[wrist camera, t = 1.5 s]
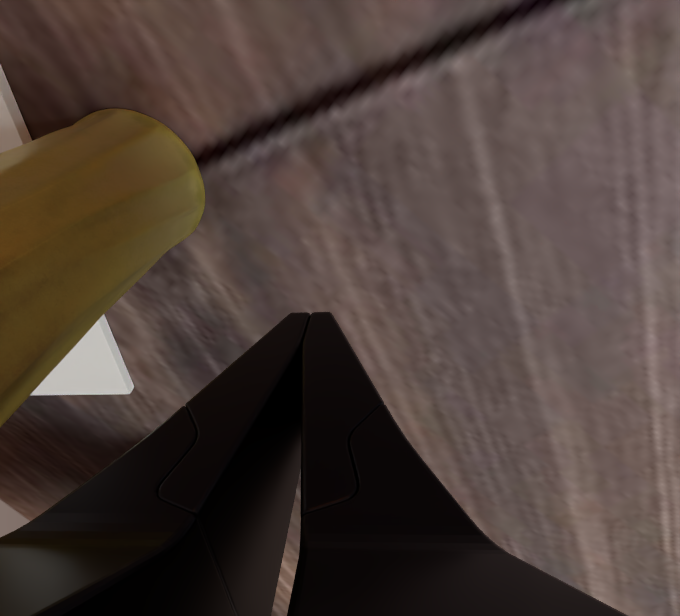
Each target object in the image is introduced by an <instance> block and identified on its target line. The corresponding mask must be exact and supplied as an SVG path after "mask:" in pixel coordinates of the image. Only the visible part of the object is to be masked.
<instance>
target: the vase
mask: <svg viewBox="0 0 680 616" xmlns="http://www.w3.org/2000/svg"><path fill="white" fill-rule="evenodd" d="M204 207H205V190H204V184H203V180H202V177H201V174H200V171H199V168H198V166H197V163H196V161H195V158H194V157H193V155H192V153H191V152H190V150H189V149H188V148H187V146H186V145H185V144H184V143H183V141H182V140H181V139H180V138H179V137H178V136H177V135H176V134H175V133H174V132H173V131H171V130H170V129H169V128H168V127H167V126H165V125H164V124H162V123H161V122H159V121H157V120H155V119H153V118H151V117H149V116H147V115H144V114H142V113H139V112H136V111H132V110H127V109H117V108H114V109H105V110H100V111H96V112H94V113H92V114H89V115H88V116H86V117H84V118H82V119H81V120H79V121H78V122H76V123H75V124H74V125H72V126H70V127H66V128H63V129H60V130H57V131H55V132H52V133H50V134H47V135H45V136H42V137H40V138H38V139H36V140H33V141H31V142H28V143H26V144H24V145H21V146H18V147H16V148H13V149H10V150H7V151H4V152H2V153H0V427H1V426H2V425H3V424H4V423H5V422H6V421H7V420H8V418H9V417H10V416H11V415H12V414H13V413H14V412H15V411H16V410H17V409H18V408H19V407H20V406H21V404H22V403H23V402H24V401H25V400H26V399H27V398H28V397H29V396H30V395H31V393H32V392H33V391H34V390H35V389H36V388H37V387H38V386H39V385H40V383H41V382H42V381H43V380H44V379H45V378H46V377H47V376H48V375H49V374H50V372H51V371H52V370H53V369H54V368H55V367H56V366H57V365H58V364H59V363H60V362H61V361H62V360H63V359H64V357H65V356H66V355H67V354H68V353H69V352H70V351H71V350H72V349H73V348H74V347H75V345H76V344H77V343H78V342H79V341H80V340H81V339H82V338H83V337H84V335H85V334H86V333H87V332H88V331H89V330H90V329H91V328H92V327H93V326H94V324H95V323H96V322H97V321H98V320H99V319H100V317H101V316H102V315H103V314H104V313H105V312H106V311H107V310H108V309H109V308H110V307H111V306H112V305H114V304H115V303H116V302H117V301H118V300H119V299H120V298H121V297H122V296H123V295H124V294H125V293H126V292H127V291H128V290H129V289H130V288H131V287H132V286H133V285H134V284H135V283H136V282H137V281H138V280H139V279H140V278H141V277H142V276H143V275H144V274H145V273H146V272H147V271H148V270H149V269H150V268H151V267H152V266H153V265H154V264H155V263H156V262H157V261H158V260H159V259H160V258H161V257H162V256H163V255H164V254H165V253H166V252H167V251H168V250H169V249H171V248H172V247H174V246H175V245H177V244H178V243H180V242H181V241H183V240H184V239H185V238H187V237H188V236H189V235H190V234H191V233H192V232H193V231H194V230H195V229H196V227H197V225H198V224H199V222H200V219H201V217H202V214H203V211H204Z"/></svg>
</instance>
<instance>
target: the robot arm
mask: <svg viewBox="0 0 680 616" xmlns="http://www.w3.org/2000/svg"><path fill="white" fill-rule="evenodd" d="M300 469H301V535H300V553H299V559H298V564H297V569H296V574H295V579H294V584H293V589H292V594H291V599H290V604H289V609H288V613H287V616H627V615H625V614H624V613H622V612H620V611H618V610H616V609H614V608H612V607H610V606H608V605H606V604H604V603H603V602H601V601H599V600H597V599H595V598H593V597H591V596H589V595H587V594H585V593H583V592H582V591H580V590H578V589H576V588H574V587H572V586H570V585H568V584H566V583H564V582H563V581H561V580H559V579H557V578H555V577H553V576H551V575H549V574H547V573H545V572H543V571H542V570H540V569H538V568H536V567H534V566H532V565H530V564H528V563H526V562H524V561H522V560H521V559H519V558H517V557H515V556H513V555H511V554H509V553H508V552H506V551H505V550H503V549H502V548H500V547H499V546H498V545H496V544H495V543H494V542H493V541H492V540H491V539H489V538H488V537H487V536H486V535H485V534H484V533H483V532H482V531H481V530H480V529H479V528H478V527H477V526H476V524H475V523H474V522H473V521H472V520H471V519H470V517H469V516H468V515H467V514H466V512H465V511H464V510H463V509H462V508H461V506H460V505H459V504H458V503H457V501H456V500H455V499H454V498H453V497H452V495H451V494H450V493H449V492H448V490H447V489H446V488H445V487H444V485H443V484H442V483H441V482H440V481H439V479H438V478H437V477H436V476H435V474H434V473H433V472H432V471H431V470H430V468H429V467H428V466H427V465H426V463H425V462H424V461H423V460H422V458H421V457H420V456H419V454H418V453H417V452H416V450H415V449H414V448H413V447H412V445H411V444H410V443H409V441H408V440H407V439H406V437H405V436H404V434H403V433H402V431H401V429H400V428H399V426H398V425H397V423H396V422H395V420H394V419H393V417H392V415H391V413H390V412H389V410H388V408H387V407H386V405H384V402H383V400H382V398H381V397H380V395H379V393H378V392H377V390H376V388H375V387H374V385H373V383H372V381H371V380H370V378H369V376H368V375H367V373H366V371H365V369H364V368H363V366H362V364H361V363H360V361H359V359H358V357H357V356H356V354H355V352H354V351H353V349H352V347H351V345H350V344H349V342H348V340H347V339H346V337H345V335H344V333H343V332H342V330H341V328H340V327H339V325H338V323H337V321H336V320H335V318H334V316H333V315H332V313H330V312H314V313H312V314H311V315H310V313H307V312H306V313H290V314H289V315H288V316H287V317H285V318H284V319H283V320H282V321H281V322H280V323H278V324H277V325H276V326H275V327H274V328H273V329H272V330H270V331H269V332H268V333H267V334H266V335H265V336H263V337H262V338H261V339H260V340H259V341H258V342H257V343H255V344H254V345H253V346H252V347H251V348H250V349H248V350H247V351H246V352H245V353H244V354H243V355H242V356H240V357H239V358H238V359H237V360H236V361H235V362H233V363H232V364H231V365H230V366H229V367H228V368H226V369H225V370H224V371H223V372H222V373H221V374H220V375H218V376H217V377H216V378H215V379H214V380H213V381H211V382H210V383H209V384H208V385H207V386H206V387H205V388H203V389H202V390H201V391H200V392H199V393H198V394H196V395H195V396H194V397H193V398H192V399H191V400H190V401H188V402H187V403H186V407H185V406H183V407H181V408H180V409H179V410H178V411H177V412H175V413H174V414H173V415H172V416H171V417H170V418H169V419H167V420H166V421H165V422H164V423H162V424H161V425H160V426H159V427H158V428H156V429H155V430H154V431H153V432H152V433H150V434H149V435H148V436H147V437H146V438H144V439H143V440H142V441H140V442H139V443H138V444H136V445H135V446H134V447H132V448H131V449H130V450H128V451H127V452H126V453H124V454H123V455H122V456H120V457H119V458H118V459H117V460H115V461H114V462H112V463H111V464H110V465H108V466H107V467H106V468H104V469H103V470H101V471H100V472H99V473H97V474H96V475H95V476H93V477H92V478H90V479H89V480H88V481H86V482H85V483H84V484H82V485H81V486H79V487H78V488H77V489H75V490H74V491H73V492H71V493H70V494H68V495H67V496H66V497H64V498H63V499H62V500H60V501H59V502H58V503H56V504H55V505H53V506H52V507H51V508H49V509H48V510H47V511H45V512H44V513H42V514H41V515H39V516H38V517H36V518H35V519H33V520H32V521H31V522H29V523H27V524H26V525H24V526H23V527H20V528H19V529H17V530H15V531H13V532H11V533H9V534H7V535H5V536H3V537H1V538H0V616H271V612H272V607H273V602H274V597H275V592H276V587H277V582H278V578H279V573H280V568H281V563H282V558H283V553H284V548H285V543H286V538H287V533H288V528H289V523H290V518H291V513H292V508H293V503H294V498H295V493H296V488H297V484H298V479H299V474H300Z"/></svg>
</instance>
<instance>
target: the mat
mask: <svg viewBox="0 0 680 616" xmlns="http://www.w3.org/2000/svg"><path fill="white" fill-rule="evenodd" d="M31 141H32V139H31V137H30V134H29V132H28V129H27V127H26V125H25V122H24V120H23V117H22V115H21V113H20V110H19V108H18V105H17V103H16V100H15V98H14V96H13V93H12V91H11V88H10V86H9V84H8V81H7V79H6V76H5V74H4V72H3V69H2V67H1V64H0V153H2V152H4V151H7V150H10V149H13V148H16V147H18V146H21V145H24V144H26V143H28V142H31ZM133 388H134V385H133V383H132V380H131V378H130V376H129V373H128V371H127V368H126V366H125V363H124V361H123V359H122V356H121V354H120V351H119V349H118V347H117V344H116V342H115V339H114V337H113V334H112V332H111V330H110V327H109V325H108V322H107V320H106V318H105V315H104V314H103V315H102V316H101V317H100V319H99V320H98V321H97V322H96V323H95V324H94V326H93V327H92V328H91V329H90V330H89V331H88V332H87V333H86V334H85V335H84V337H83V338H82V339H81V340H80V341H79V342H78V343H77V344H76V345H75V347H74V348H73V349H72V350H71V351H70V352H69V353H68V354H67V355H66V356H65V357H64V359H63V360H62V361H61V362H60V363H59V364H58V365H57V366H56V367H55V368H54V369H53V370H52V371H51V372H50V374H49V375H48V376H47V377H46V378H45V379H44V380H43V381H42V382H41V383H40V385H39V386H38V387H37V388H36V389H35V390H34V391H33V392H32V393H31V395H98V394H130V393H131V391H132V390H133Z"/></svg>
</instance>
